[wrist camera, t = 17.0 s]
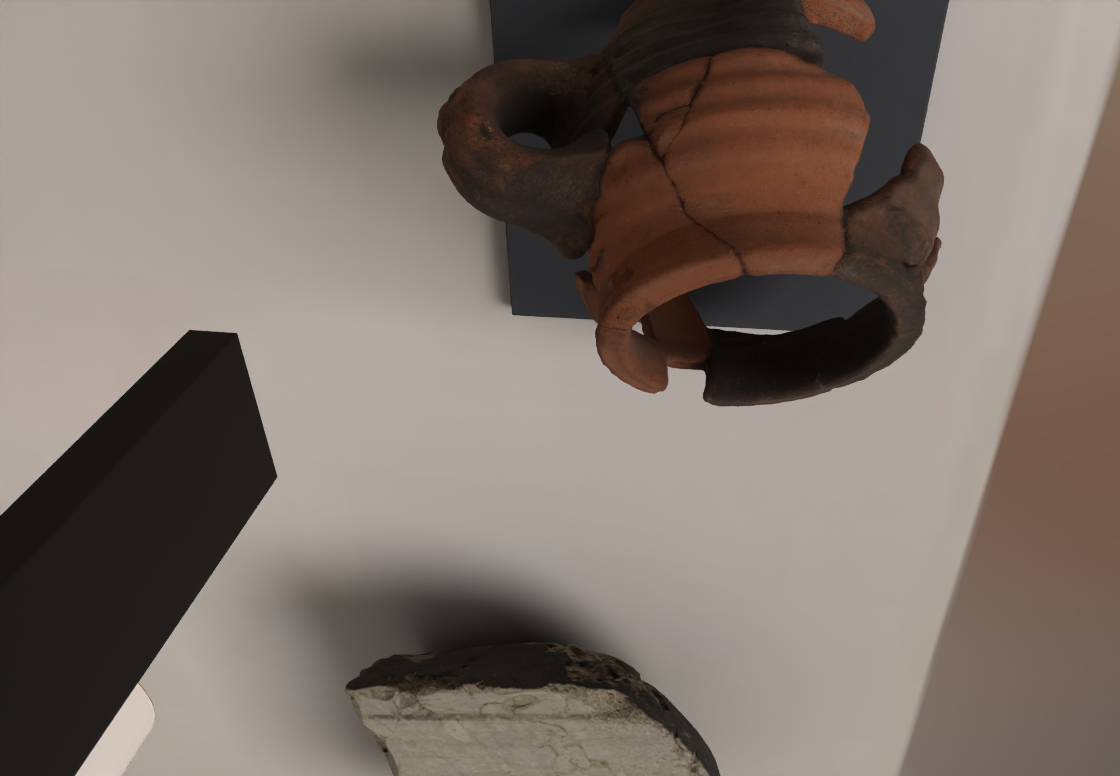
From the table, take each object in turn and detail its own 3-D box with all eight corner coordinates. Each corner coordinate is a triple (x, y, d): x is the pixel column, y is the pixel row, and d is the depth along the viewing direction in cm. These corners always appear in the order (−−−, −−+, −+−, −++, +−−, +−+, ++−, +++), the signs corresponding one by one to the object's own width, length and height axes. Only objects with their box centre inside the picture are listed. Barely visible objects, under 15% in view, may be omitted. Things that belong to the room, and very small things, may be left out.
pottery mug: (989, -40, 20) (1076, 258, 17) (801, 209, 29) (832, 444, 25) (469, -158, 18) (439, 158, 14) (429, 149, 26) (403, 399, 23)
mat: (963, -97, 20) (968, -95, 19) (879, 327, 26) (882, 336, 25) (488, -88, 21) (483, -86, 21) (515, 307, 28) (511, 315, 27)
